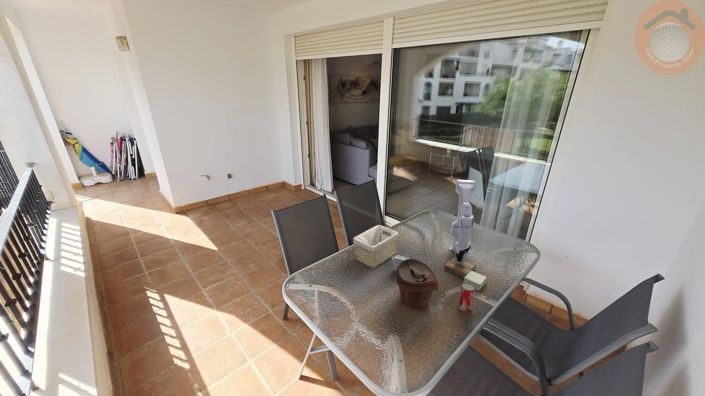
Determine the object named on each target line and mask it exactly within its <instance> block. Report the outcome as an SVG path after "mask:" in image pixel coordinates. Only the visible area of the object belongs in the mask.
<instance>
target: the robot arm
mask: <svg viewBox="0 0 705 396" xmlns="http://www.w3.org/2000/svg"><path fill="white" fill-rule="evenodd" d="M475 189H476V180H470V179H469V180H467V179H466V180H465V179H457V180H456V181H455V193H456V194H458V197H459V198H458V206H457V207H458V209H457V217H456V218H457V219H456V220H455V221H453V222H452V223H451V226H450V227H451V228H450V235H451V236H452V239H451V246H450V247H449V248H448V250H451V251H453V252H454V255H455V254H456V258H457V261H459V262H461V261H462V258H463V255H464V254H465V253H466V252H467V254H468V253H469V251H470V249H471V248H472V245H470V244H471V241H472V240H471V234H472V228H473V227H474V223H475V221H474V215H473V206H472V204H471V195H472V194H473V193H474V192H475ZM463 251H466V252H463Z"/></svg>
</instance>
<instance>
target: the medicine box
mask: <svg viewBox="0 0 705 396" xmlns="http://www.w3.org/2000/svg"><path fill="white" fill-rule="evenodd" d="M406 259H411V257H407V256H404V255H399V254H395V256H394V257H393V269H392V272H393V273H396V270H397V268H398V266H399V264H400V263H401V262H402V261H404V260H406Z"/></svg>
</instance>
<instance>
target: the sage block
mask: <svg viewBox="0 0 705 396" xmlns="http://www.w3.org/2000/svg"><path fill="white" fill-rule="evenodd" d="M486 282H487V276H485V275H482V274H480V273H478V272H476V271H474V270H473V271H470V272H469V273H468V274H467V275H466V276H465V277H463V283H470V284H472V285H473V286H474V289H475V291H480V290H482V288H483V287H484V286H485V285H486Z"/></svg>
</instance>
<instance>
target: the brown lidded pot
mask: <svg viewBox="0 0 705 396" xmlns="http://www.w3.org/2000/svg"><path fill="white" fill-rule="evenodd" d="M394 278H396V281H395V283H396V285H397V286H398V289H399V294H400V300H401V303H402V304H403V305H404V306H405V307H407V308H409V309H411V310H412V309H413V310H418V311H419V310H423V309H425V308H427V306H428V305H429V303H430V300H431V297H432V294H433V292H434V291H438V290H439V281H438V279H437V277H436V275H435V272H434V271H433V270H432V269H431V268H430V267H429V265H427V264H426V263H424V262H423V261H420V260H419V259H416V258H415V259H414V258H410V259H406V260H404V261H402V262H401V263H400V264H399V266H398V268H397V270H396V272H395V275H394Z"/></svg>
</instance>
